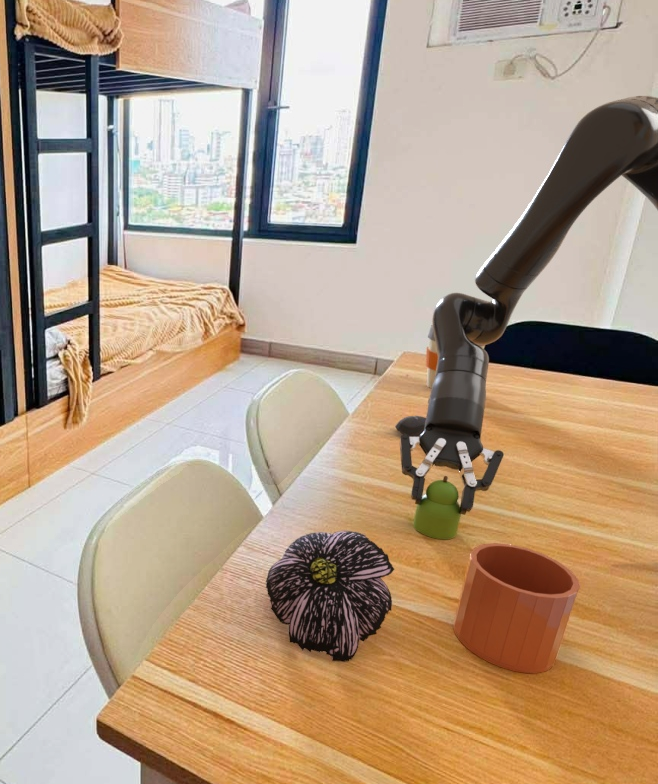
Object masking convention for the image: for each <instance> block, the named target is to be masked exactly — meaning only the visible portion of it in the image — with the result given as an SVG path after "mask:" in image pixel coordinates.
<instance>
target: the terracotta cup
mask: <svg viewBox="0 0 658 784" xmlns="http://www.w3.org/2000/svg"><path fill="white" fill-rule="evenodd" d="M580 588H581V585H580V581H579V578H578V577H577V576H576V575H575V573H573V571H572V570H571V569H570V568H569V567H567V566H566V565H564V564H562V563H561V562H560V561H558V560H556V559H555V558H553V557H551V556H549V555H546V554H544V553H542V552H539V551H536V550H534V549H531V548H527V547H524V546H519V545H515V544H510V543H500V542H489V543H483V544H479V545H477V546H475V547H473V549H472V550H471V551H470V554H469V558H468V562H467V566H466V569H465V575H464V577H463V581H462V585H461V590H460V593H459V596H458V597H459V598H458V602H457V606H456V610H455V614H454V618H453V619H454V621H453V624H452V625H453V631H454V633H455V636H456V637H457V639H458V640H459V642H461V644H462V645H463V646H464V647H465V648H466V649H468V650H469V651H470V652H471V653H473V654H474V655H475V656H477V657H479V658H480V659H483V660H484V661H486V662H487V663H489V664H491V665H495V666H497V667H500V668H502V669H505V670H509V671H512V672H517V673H522V674H523V673H524V674H538V673H539V674H540V673H544V672H547V671H549V670H550V669H552V668H553V667H554V666H555V664H556V661H557V658H558V656H559V652H560V649H561V646H562V644H563V641H564V637H565V635H566V632H567V629H568V625H569V622H570V620H571V619H570V618H571V616H572V613H573V610H574V607H575V604H576V600H577V597H578V595H579V591H580V590H581V589H580Z"/></svg>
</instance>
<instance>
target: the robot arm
mask: <svg viewBox="0 0 658 784" xmlns="http://www.w3.org/2000/svg"><path fill="white" fill-rule="evenodd" d="M620 177H623V178H624V179H626V181H628V182H629V183H630V184H631V185H633V186H634V187H635V188H636V189H637V190H638V191H639V192H640V193H641V194H642V195H643V196H644V197H646V198H647V199H648V201H649V202H650V203H651V204H652V206H654V208H655V209H656V210H657V211H658V97H656V96H652V95H635V96H629V97H626V98H621V99H617V100H612V101H609V102H606V103H604V104H601V105H598V106H597V107H595V108H594V109H592V110H590V111H589V112H587V113H586V114H585V115H584V116H582V118H580V119H579V121H577V123H576V125H575V127H574V128H573V129H572V131H571V133H570V134H569V136H568V138H567V139H566V141H565V143H564V144H563V147H562V148H561V150H560V152H559V154H558V155H557V157H556V159H555V161H554V163H553V165H552V166H551V168H550V170H549V172H548V174H547V175H546V177H545V179H544V181H543V182H542V183H541V185H540V187H539V189H538V190H537V192H536V193H535V195H534V196H533V198H532V200H531V201H530V202H529V204H528V205H527V206H526V208H525V210H524V211H523V212H522V214H521V216H520V217H519V218H518V220H517V221H516V222H515V224H514V225H513V226H512V228H511V229H510V230H509V232H508V233H507V234H506V235H505V236H504V238H503V239H502V240H501V241H500V243H499V244H498V245H497V247H496V248H495V249H494V250H493V251H492V253H491V254H490V256H489V257H488V258H487V259H486V260H485V262H484V263H483V264H482V266H481V267H480V268H479V270H478V271H477V273H476V274H475V277H474V283H475V286H476V288H477V289H479V290H480V291H481V292H482V293H483V294H484V295H486V296H487V297H489V298H491V299H492V300H491V301H488V300H485V299H481V298H478V297H475V296H472V295H468V294H465V293H462V292H451V293H448V294H446V295H445V296H443V297H442V298H440V300H439V301H438V302H437V303H436V305H435V307H434V310H433V312H432V319H431V320H432V321H431V322H432V324H431V325H433V332H434V337H435V342H436V348H437V354H438V362H437V368H436V373H435V379H434V383H433V386H432V389H431V388H430V393H429V398H428V402H427V403H428V405H427V411H426V416H425V418H426V422H425V428H424V432H423V433H422V434H421V435H420V437H409V435H407V434H401V435H400V439H399V451H400V452H399V453H400V465H401V472H402V475H404V476H408V477H410V478H411V479H412V480H413V482H412V489H411V494H410V498H411V500H413V501H414V505H417V504H418V505H420V504H421V501H422V496H423V495H424V490H425V489H424V487H425V481H426V478H425V477H426V476H427V475H428V473H429V472H430V471H431V470H432V468H433V467H434V466H435V467H441V468H442V467H445V468H449V469H451V470H455V471H458V475H459V478H460V479H461V481H462V485H463V489H462V491H461V497H460V503H459V505H460V512H459V514H461V515H462V516H463V515H464V516H465V515H466V514H467V513H470V512H471V511H472V509H473V507H474V503H475V502H474V501H475V494H476V492H477V491H482V492H487V491H488V490H489V489H490V487H491V485H492V484H493V481H494V479H495V477H496V475H497V472H498V470H499V467H500V466H501V463H502V460H503V458H504V455H505V454H504V452H503V451H502V450H499V449H497V450H491V449H489V448H485V447H484V445H483V443H482V441H481V438H482V430H483V422H484V415H485V408H486V401H487V389H486V388H487V379H488V370H489V363H490V357H489V354H488V352H487V351H486V349H485V348H484V349H483V348H482V347H480V346H478V345H477V344H479V345H485V346H486V345H490V344H492V343H495V342H496V341H497V340H499V339H500V338H501V337H502V336H503V334H504V333H505V331H506V329H507V327H508V325H509V322H510V319H511V317H512V315H513V313H514V311H515V308H516V307H517V305H518V303H519V301H520V300H521V298H522V296H523V294H524V293H525V291H526V290H527V289H528V288H529V287H530V286H531V285H532V283H534V281H535V280H536V279H537V277H539V275H540V274H541V273H542V272H543V271H544V270H545V268H546V267H547V266H548V265H549V264H550V262H551V261H552V260H553V258H554V257H555V256H556V254H557V252H558V251H559V249H560V247H561V246H562V244H563V243H564V241H565V238H566V237H567V235H568V233H569V231H570V229H572V227H573V225H574V223H575V222H576V221H577V220H578V218H579V217H580V215H581V214H582V213H583V212H584V211H585V210H586V209H587V207H588V206H590V204H591V203H592V202H593V201H594V200H595V199H597V197H598V196H599V195H600V194H602V193H603V192H604V191H605V190H606V189H607V188H608V187H609V186H610V185H612V184H613V183H614V182H615V181H617V180H618V179H619V178H620ZM417 445H419V447H420V448H421V450H422V451H423V453H424V454H425V456H424V459H423V460H422V462H421V463H420V465H419V466H418V467H416V466H414V465H413V462H412V460H413V459H412V452H413V451H415V449H416V446H417ZM479 456H481V457H482V458H483V461H482V462H483V464H484V465H486V466H487V467H486V469H485V472H484V474H483V476H482V478H479V479H476V476H475V473H474V472H475V471H474V467H473V464H472V462H474V460H476V459H477V458H479Z"/></svg>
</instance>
